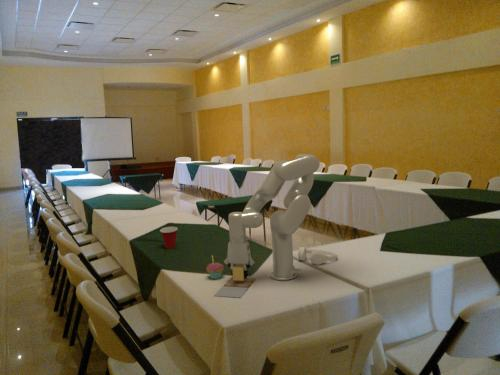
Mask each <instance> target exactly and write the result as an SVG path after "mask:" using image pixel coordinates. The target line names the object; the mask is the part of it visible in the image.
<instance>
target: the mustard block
mask: <svg viewBox="0 0 500 375" xmlns="http://www.w3.org/2000/svg"><path fill="white" fill-rule="evenodd" d="M232 269H233V276H232V277H233V280H239V281H244V280H245V279H244V267H243V264H235V265H234V266H233V267H232Z"/></svg>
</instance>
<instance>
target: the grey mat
mask: <svg viewBox="0 0 500 375" xmlns="http://www.w3.org/2000/svg"><path fill="white" fill-rule="evenodd" d="M248 290H249V288H246V287H232V286H224V285H222V287H221V288H220V289H218V290H217V292H216V293H215V294H214V295H213V297H217V298H218V297H220V298H231V297H233V299H241V298H242V297H243V296H244V294H245V293H246V292H247V291H248Z"/></svg>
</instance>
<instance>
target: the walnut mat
mask: <svg viewBox="0 0 500 375" xmlns="http://www.w3.org/2000/svg"><path fill="white" fill-rule="evenodd" d="M256 279H257V278H253V277H247V278H246V279H245V280H244V281H239V280H233V276H231V277H230V278H229V279H228V280H227V282H225V283H224V285H223V286H229V287H243V288H248V289H249V288H250V287H251V286H252V285H253V284H254V282H255V281H256Z"/></svg>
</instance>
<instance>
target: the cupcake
mask: <svg viewBox="0 0 500 375" xmlns="http://www.w3.org/2000/svg"><path fill="white" fill-rule="evenodd" d="M211 259H212V260H211V261H212V262H211V263H209V264H207V266H206V268H205V270H206V272H207V273H208V274H209V276H210V279H211V280H219V279H221V277H222V273H223V271H224V270H225V267H224V265H223V263H220V262H217V261H216V262H215V260H214V255H211Z"/></svg>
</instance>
